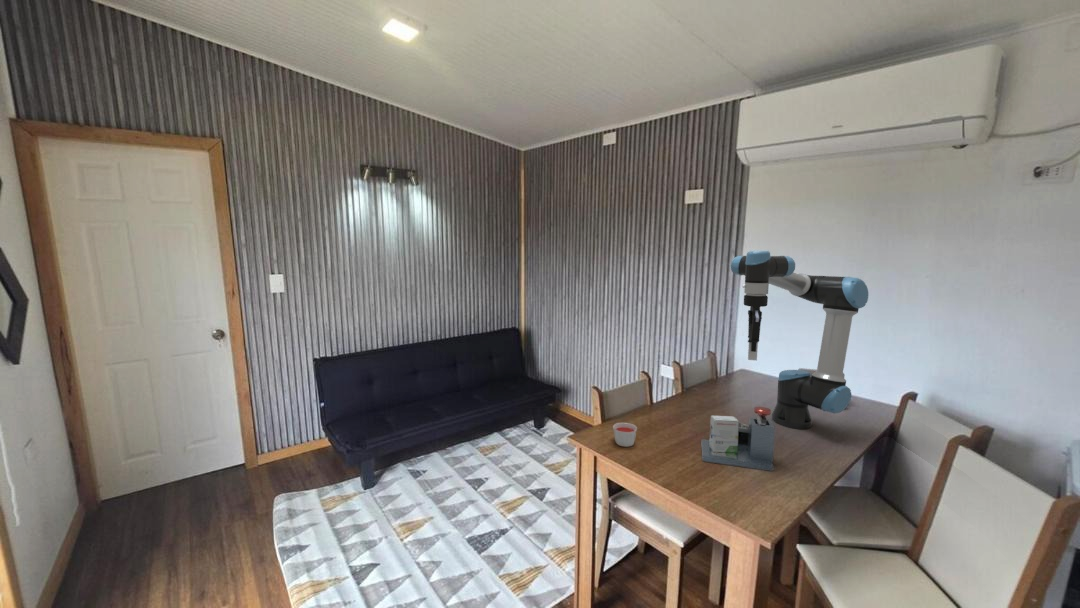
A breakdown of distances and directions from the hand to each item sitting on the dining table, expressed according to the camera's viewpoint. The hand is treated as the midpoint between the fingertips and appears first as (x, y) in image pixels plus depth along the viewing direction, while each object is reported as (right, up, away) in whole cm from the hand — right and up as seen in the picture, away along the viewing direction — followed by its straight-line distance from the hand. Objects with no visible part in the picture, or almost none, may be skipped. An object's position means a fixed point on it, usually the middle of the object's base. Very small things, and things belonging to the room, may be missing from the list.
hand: (752, 359), depth 152 cm
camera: (-3, -34, +11) cm, 35 cm away
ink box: (-10, -33, 0) cm, 34 cm away
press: (-7, -35, -1) cm, 35 cm away
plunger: (+1, -32, -4) cm, 32 cm away
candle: (-44, -34, +11) cm, 57 cm away
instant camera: (+62, -27, +58) cm, 90 cm away
